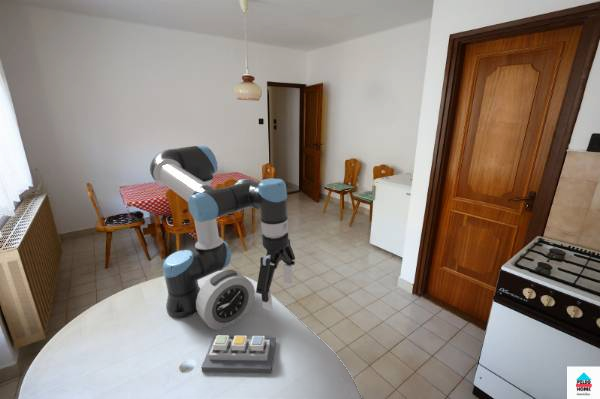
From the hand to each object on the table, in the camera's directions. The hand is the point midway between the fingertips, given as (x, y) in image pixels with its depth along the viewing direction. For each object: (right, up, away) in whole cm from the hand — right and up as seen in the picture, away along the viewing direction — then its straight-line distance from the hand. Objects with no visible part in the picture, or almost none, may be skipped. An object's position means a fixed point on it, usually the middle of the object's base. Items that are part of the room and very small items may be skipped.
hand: (278, 294), depth 87 cm
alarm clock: (-22, -17, +24) cm, 37 cm away
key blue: (-7, -18, +4) cm, 20 cm away
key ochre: (-13, -18, +5) cm, 23 cm away
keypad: (-13, -23, +6) cm, 27 cm away
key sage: (-19, -18, +5) cm, 27 cm away
